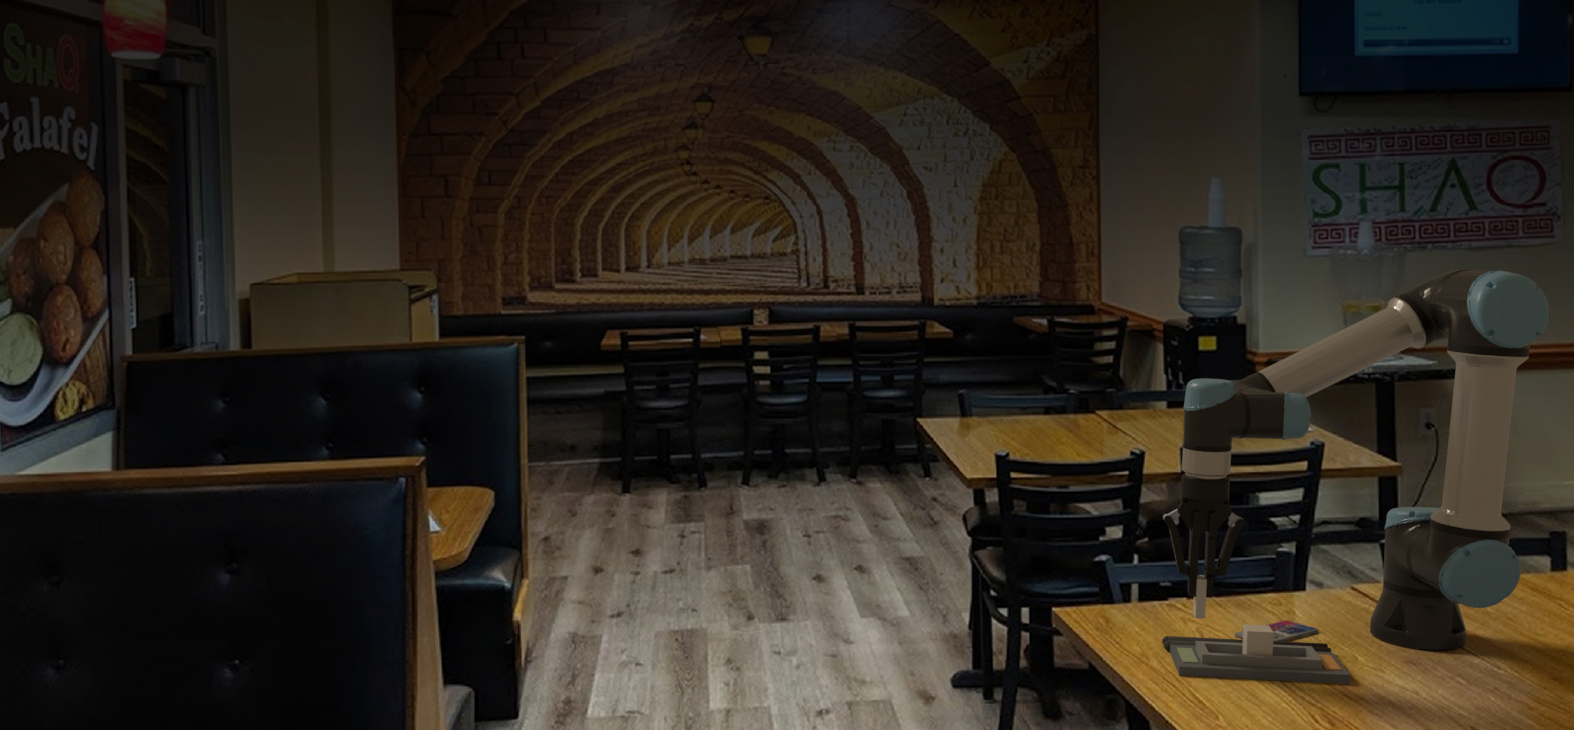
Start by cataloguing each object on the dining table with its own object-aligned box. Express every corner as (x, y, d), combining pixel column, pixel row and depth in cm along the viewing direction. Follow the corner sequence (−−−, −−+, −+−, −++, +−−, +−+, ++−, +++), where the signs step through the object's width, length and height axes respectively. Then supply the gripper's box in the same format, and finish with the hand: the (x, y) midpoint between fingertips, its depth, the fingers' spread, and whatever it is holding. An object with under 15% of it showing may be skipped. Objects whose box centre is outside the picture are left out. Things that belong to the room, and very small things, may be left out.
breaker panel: (1331, 660, 211) (1332, 643, 211) (1349, 684, 201) (1350, 665, 200) (1170, 653, 216) (1170, 635, 215) (1179, 675, 205) (1179, 657, 204)
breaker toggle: (1267, 654, 209) (1268, 625, 209) (1272, 662, 206) (1273, 632, 205) (1242, 653, 210) (1243, 624, 209) (1246, 661, 206) (1247, 631, 206)
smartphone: (1231, 632, 225) (1285, 618, 233) (1231, 638, 225) (1285, 624, 233) (1266, 643, 219) (1321, 628, 226) (1266, 649, 219) (1321, 634, 226)
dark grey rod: (1325, 652, 216) (1325, 642, 216) (1327, 655, 214) (1328, 645, 214) (1161, 644, 220) (1161, 634, 220) (1162, 647, 218) (1162, 637, 218)
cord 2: (1328, 656, 214) (1328, 646, 213) (1331, 660, 212) (1331, 649, 212) (1162, 648, 218) (1163, 638, 218) (1164, 652, 216) (1164, 641, 216)
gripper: (1243, 471, 209) (1236, 611, 211) (1161, 468, 211) (1155, 606, 213) (1252, 480, 201) (1244, 625, 204) (1167, 476, 204) (1160, 620, 206)
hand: (1198, 615), depth 209 cm, fingers closed
